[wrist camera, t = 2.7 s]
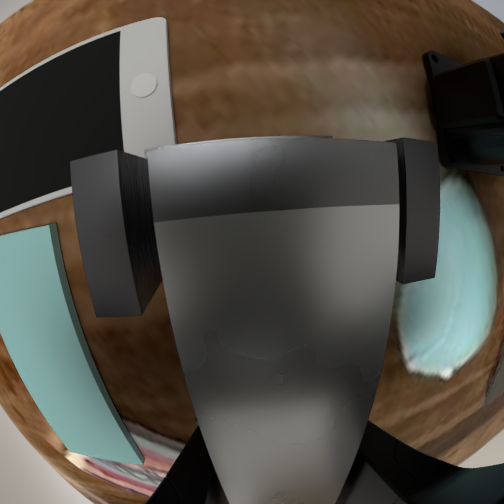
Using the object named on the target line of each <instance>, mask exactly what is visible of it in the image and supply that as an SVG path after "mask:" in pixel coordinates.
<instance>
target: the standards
mask: <svg viewBox="0 0 504 504" xmlns="http://www.w3.org/2000/svg"><path fill="white" fill-rule="evenodd" d="M281 138H326V139H333V137H332V136H267V137H247V138H232V139H220V140H210V141H200V142H192V143H184V144H176V145H169V146H163V147H156V148H150V149H144V153H145V158H143V157H139V156H136V155H133V154H130V153H126V152H123V151H120V150H114V151H109V152H105V153H101V154H96V155H92V156H88V157H85V158H81V159H77V160H73V161H70V169H71V184H72V195H73V204H74V213H75V220H76V227H77V233H78V239H79V245H80V251H81V256H82V261H83V265H84V270H85V275H86V279H87V283H88V287H89V291H90V295H91V299H92V302H93V306H94V309H95V313H96V316H97V317H120V316H142V314H143V312H144V311H145V309H146V307H147V305H148V304H149V302H150V300H151V299H152V297H153V295H154V293H155V292H156V290H157V288H158V287H159V285H160V283H161V282H162V280H163V279H162V273H161V267H160V261H159V255H158V248H157V242H156V235H155V227H154V219H153V211H152V202H151V192H150V181H149V169H148V154H147V151H153V150H159V149H166V148H173V147H180V146H187V145H196V144H205V143H215V142H226V141H239V140H255V139H281ZM384 142H391V143H396V146H397V158H398V175H399V244H398V261H397V273H396V280H397V281H398V282H400V283H402V284H406V283H411V282H416V281H421V280H425V279H430V278H435V271H436V263H437V253H438V240H439V222H440V177H439V159H438V146H437V143H436V142H430V141H424V140H417V139H410V138H398V139H393V140H388V141H384ZM196 424H197V426H198V425H199V423H198V420H197V417H196ZM228 504H229V502H228ZM335 504H345V502H344V499H343V497H342V495H341V492H340V494H339V496H338V498H337V500H336V502H335Z"/></svg>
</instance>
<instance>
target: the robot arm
mask: <svg viewBox="0 0 504 504" xmlns="http://www.w3.org/2000/svg"><path fill="white" fill-rule="evenodd" d="M500 34H501V36H502V38H503V39H504V28H503V29H502V31H501V32H500ZM424 60H425V64H426V68H427V72H428V76H429V81H430V85H431V90H432V95H433V101H434V106H435V112H436V119H437V126H438V134H439V144H440V155H441V161H442V164H443V165H444V166H445V167H446V168H452V169H460V170H467V171H474V172H480V173H486V174H492V175H498V176H504V53H501V54H498V55H494V56H491V57H488V58H482V59H479V60H476V61H473V62H470V63H467V64H464V65H463V64H461V63H459V62H457V61H455V60H452V59H450V58H448V57H446V56H444V55H441V54H439V53H437V52H434V51H428V52H426V53H424ZM449 157H450V160H449ZM341 495H342V497H343V499H344V502H345V504H504V463H503V464H498V465H493V466H486V467H480V468H462V467H458V466H455V465H452V464H449V463H447V462H444V461H442V460H439V459H437V458H434V457H432V456H429V455H427V454H425V453H423V452H421V451H418V450H416V449H415V448H413V447H411V446H409V445H407V444H406V443H404V442H402V441H401V440H399V439H396V437H394V436H392V435H391V434H389V433H388V432H386V431H385V430H383V429H381V428H380V427H378V426H377V425H375V424H374V423H372V422H371V421H369V420H368V422H367V425H366V428H365V431H364V434H363V437H362V440H361V443H360V445H359V448H358V451H357V454H356V456H355V459H354V461H353V464H352V466H351V469H350V471H349V474H348V476H347V478H346V481H345V483H344V485H343V488H342V490H341ZM144 504H228V499H227V497H226V495H225V492H224V490H223V488H222V485H221V483H220V481H219V478H218V476H217V473H216V471H215V468H214V465H213V463H212V460H211V458H210V455H209V452H208V449H207V447H206V444H205V441H204V438H203V435H202V432H201V429H200V426H199V425H198V426H197V428H196V429H195V431H194V433H193V434H192V436H191V437H190V439H189V441H188V442H187V444H186V445H185V447H184V448H183V450H182V452H181V453H180V455H179V456H178V458H177V459H176V461H175V462H174V464H173V465H172V467H171V468H170V470H169V471H168V473H167V475H166V477H164V479H163V480H162V482H161V483H160V485H159V486H158V488H157V489H156V490H155V492H154V493H153V494H152V496H151V497H150V498H149V499H148V500H147V501H146V502H145V503H144Z"/></svg>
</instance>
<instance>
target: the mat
mask: <svg viewBox="0 0 504 504" xmlns="http://www.w3.org/2000/svg"><path fill="white" fill-rule="evenodd" d="M0 333H1V335H2V338H3V340H4V343H5V345H6V347H7V349H8V352H9V354H10V356H11V358H12V360H13V362H14V365H15V367H16V369H17V371H18V373H19V374H20V376H21V378H22V380H23V382H24V384H25V386H26V387H27V389H28V391H29V393H30V394H31V396H32V398H33V399H34V401H35V403H36V404H37V406H38V408H39V409H40V411H41V412H42V414H43V415H44V417H45V418H46V420H47V421H48V423H49V424H50V426H51V427H52V429H53V430H54V431H55V433H56V434H57V435H58V437H59V438H60V439H61V441H62V442H63V443H64V445H65V446H66V447H67V448H68V450H69V451H70V452H74V453H78V454H82V455H86V456H91V457H96V458H101V459H106V460H112V461H118V462H124V463H132V464H140V465H144V460H145V458H144V457H143V455H142V454H141V452H140V451H139V449H138V447H137V446H136V444H135V442H134V441H133V439H132V437H131V436H130V434H129V432H128V431H127V429H126V427H125V425H124V424H123V422H122V420H121V418H120V416H119V414H118V412H117V411H116V409H115V407H114V405H113V403H112V401H111V399H110V397H109V395H108V392H107V390H106V388H105V386H104V384H103V382H102V379H101V377H100V375H99V373H98V370H97V368H96V366H95V363H94V361H93V358H92V356H91V353H90V351H89V348H88V345H87V343H86V340H85V337H84V334H83V331H82V328H81V325H80V322H79V319H78V316H77V313H76V310H75V306H74V303H73V299H72V296H71V292H70V289H69V285H68V281H67V277H66V272H65V268H64V264H63V259H62V254H61V249H60V243H59V238H58V232H57V225H56V223H54V224H49V225H44V226H39V227H35V228H30V229H25V230H21V231H17V232H12V233H8V234H4V235H0Z"/></svg>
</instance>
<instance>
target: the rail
mask: <svg viewBox="0 0 504 504" xmlns="http://www.w3.org/2000/svg"><path fill="white" fill-rule="evenodd" d="M147 154H148V169H149V181H150V192H151V202H152V211H153V219H154V227H155V235H156V242H157V248H158V255H159V261H160V267H161V273H162V279H163V285H164V290H165V295H166V300H167V305H168V310H169V315H170V320H171V324H172V329H173V333H174V337H175V342H176V346H177V350H178V354H179V358H180V362H181V366H182V369H183V373H184V377H185V380H186V384H187V388H188V391H189V394H190V398H191V401H192V404H193V408H194V411H195V414H196V417H197V420H198V423H199V426H200V429H201V432H202V435H203V438H204V441H205V444H206V447H207V449H208V452H209V455H210V458H211V460H212V463H213V465H214V468H215V471H216V473H217V476H218V478H219V481H220V483H221V485H222V488H223V490H224V492H225V495H226V497H227V499H228V502H229V504H335V502H336V500H337V498H338V496H339V494H340V492H341V490H342V488H343V485H344V483H345V481H346V478H347V476H348V474H349V471H350V469H351V466H352V464H353V461H354V459H355V456H356V454H357V451H358V448H359V445H360V443H361V440H362V437H363V434H364V431H365V428H366V425H367V422H368V418H369V415H370V412H371V408H372V405H373V401H374V398H375V394H376V390H377V386H378V382H379V378H380V374H381V370H382V365H383V361H384V356H385V351H386V346H387V340H388V335H389V329H390V323H391V316H392V309H393V301H394V293H395V284H396V273H397V261H398V244H399V175H398V158H397V146H396V143H391V142H380V141H368V140H352V139H326V138H281V139H255V140H239V141H226V142H215V143H205V144H196V145H187V146H180V147H173V148H166V149H159V150H153V151H147Z"/></svg>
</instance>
